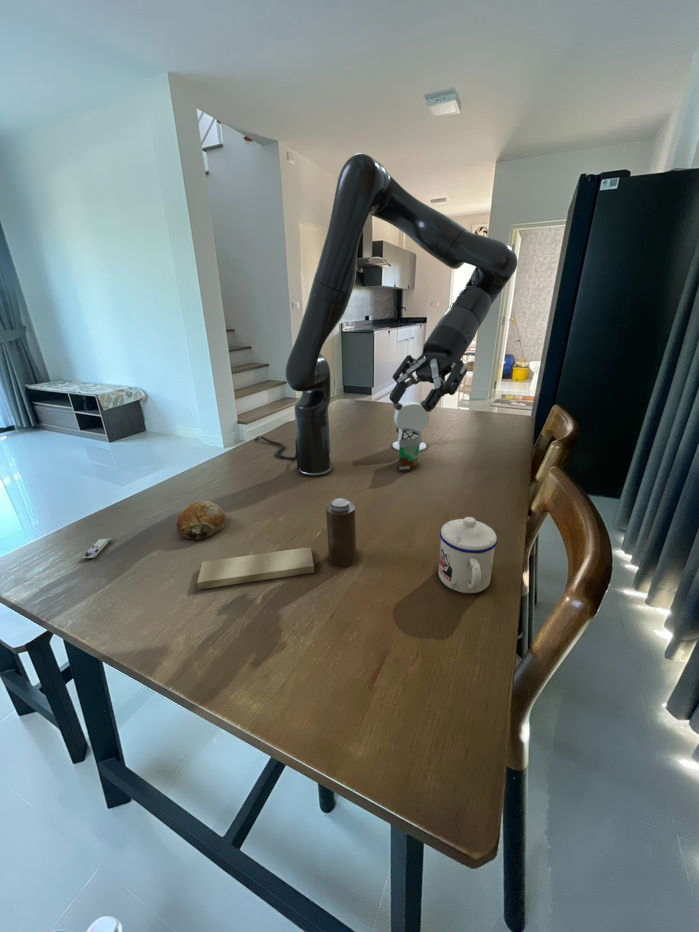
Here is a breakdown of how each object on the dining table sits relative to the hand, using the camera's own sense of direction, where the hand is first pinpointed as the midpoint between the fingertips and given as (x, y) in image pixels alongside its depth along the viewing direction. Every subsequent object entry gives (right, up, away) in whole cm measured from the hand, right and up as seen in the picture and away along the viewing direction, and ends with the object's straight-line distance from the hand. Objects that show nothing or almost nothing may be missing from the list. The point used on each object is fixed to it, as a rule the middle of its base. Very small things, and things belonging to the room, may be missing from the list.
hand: (408, 405), depth 72 cm
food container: (+7, -12, +41) cm, 44 cm away
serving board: (-28, -31, -2) cm, 41 cm away
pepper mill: (-12, -29, 0) cm, 32 cm away
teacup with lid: (+9, -32, -7) cm, 34 cm away
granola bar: (-62, -29, +5) cm, 69 cm away
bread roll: (-43, -26, +12) cm, 52 cm away
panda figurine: (+10, -5, +58) cm, 59 cm away
